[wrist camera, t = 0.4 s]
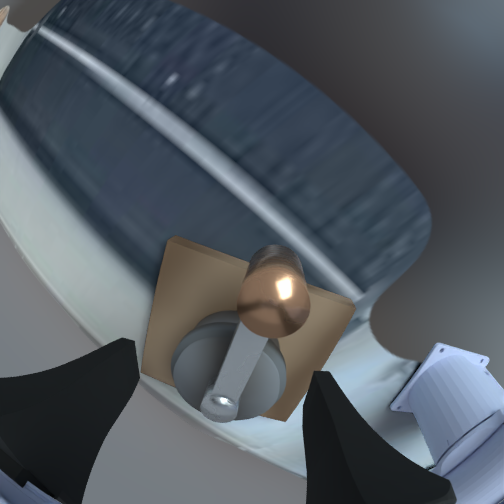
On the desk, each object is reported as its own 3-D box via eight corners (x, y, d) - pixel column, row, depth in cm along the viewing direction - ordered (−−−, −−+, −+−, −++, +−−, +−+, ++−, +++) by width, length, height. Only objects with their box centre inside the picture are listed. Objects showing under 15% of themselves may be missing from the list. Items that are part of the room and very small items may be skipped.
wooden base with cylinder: (351, 299, 19) (373, 340, 13) (285, 410, 22) (285, 457, 17) (175, 235, 19) (139, 257, 13) (147, 362, 22) (120, 402, 17)
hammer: (238, 403, 15) (229, 454, 11) (201, 391, 15) (184, 440, 11) (309, 253, 12) (322, 287, 9) (259, 235, 12) (251, 261, 9)
